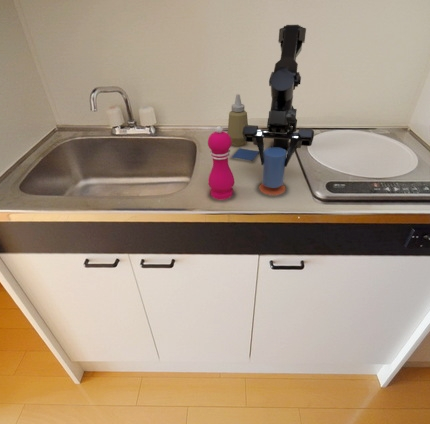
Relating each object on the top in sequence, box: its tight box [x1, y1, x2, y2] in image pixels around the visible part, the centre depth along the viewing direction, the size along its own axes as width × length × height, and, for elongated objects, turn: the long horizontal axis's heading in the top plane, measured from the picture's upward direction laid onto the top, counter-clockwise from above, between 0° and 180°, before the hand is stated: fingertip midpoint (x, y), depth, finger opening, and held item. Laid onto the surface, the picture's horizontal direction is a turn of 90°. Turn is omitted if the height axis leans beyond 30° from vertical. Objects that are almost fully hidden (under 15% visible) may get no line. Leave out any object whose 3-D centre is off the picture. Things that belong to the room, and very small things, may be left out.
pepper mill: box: [207, 125, 235, 200], centre depth 75 cm, size 7×7×20 cm
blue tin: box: [261, 146, 288, 188], centre depth 78 cm, size 6×6×10 cm
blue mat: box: [231, 148, 260, 162], centre depth 100 cm, size 8×8×1 cm
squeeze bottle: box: [227, 93, 249, 147], centre depth 104 cm, size 8×8×18 cm
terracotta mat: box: [258, 182, 286, 196], centre depth 82 cm, size 8×8×1 cm
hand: (273, 165), depth 76 cm, fingers closed on blue tin, 6 cm apart
